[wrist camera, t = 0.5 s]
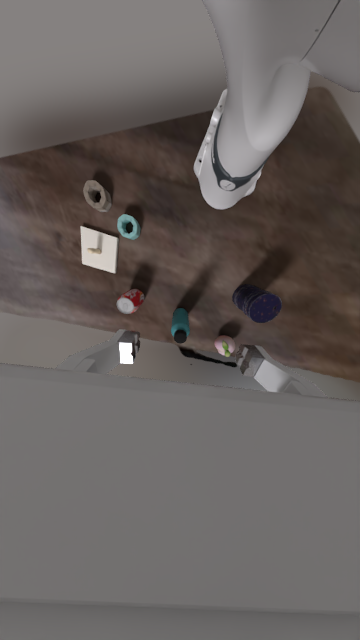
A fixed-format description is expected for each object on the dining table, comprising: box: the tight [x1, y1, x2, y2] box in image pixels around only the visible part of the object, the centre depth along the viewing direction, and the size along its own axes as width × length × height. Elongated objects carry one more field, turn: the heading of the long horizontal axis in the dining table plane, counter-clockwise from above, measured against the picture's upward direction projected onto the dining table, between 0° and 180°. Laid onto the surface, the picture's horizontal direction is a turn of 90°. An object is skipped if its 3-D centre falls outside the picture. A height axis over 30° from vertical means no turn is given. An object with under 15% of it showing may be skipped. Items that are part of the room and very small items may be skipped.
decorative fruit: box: [215, 335, 235, 357], centre depth 58 cm, size 9×8×10 cm
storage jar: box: [232, 284, 282, 323], centre depth 46 cm, size 10×10×15 cm
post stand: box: [81, 226, 119, 273], centre depth 44 cm, size 12×12×6 cm
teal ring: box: [118, 214, 141, 240], centre depth 42 cm, size 6×6×4 cm
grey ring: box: [83, 180, 112, 212], centre depth 39 cm, size 6×6×4 cm
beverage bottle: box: [171, 308, 190, 343], centre depth 48 cm, size 6×7×20 cm
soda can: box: [117, 289, 144, 314], centre depth 48 cm, size 7×7×12 cm
